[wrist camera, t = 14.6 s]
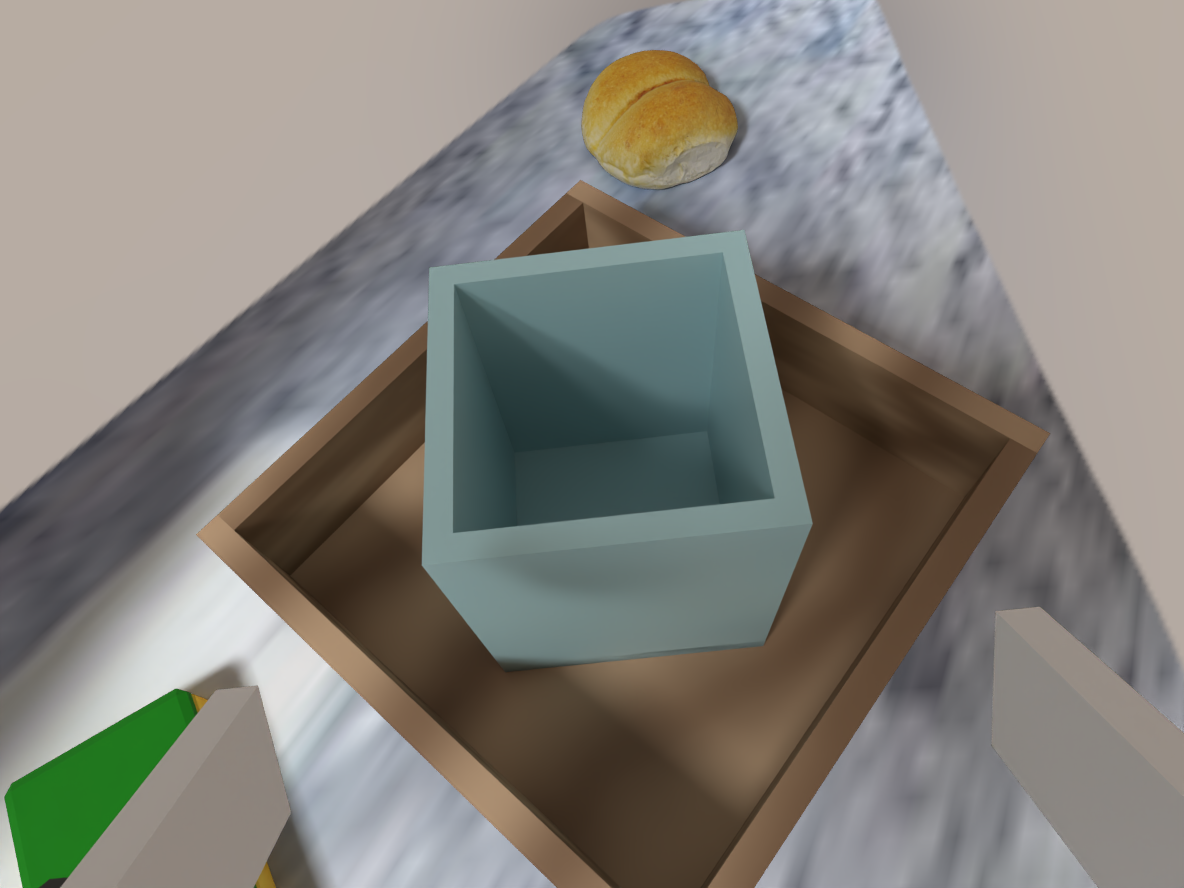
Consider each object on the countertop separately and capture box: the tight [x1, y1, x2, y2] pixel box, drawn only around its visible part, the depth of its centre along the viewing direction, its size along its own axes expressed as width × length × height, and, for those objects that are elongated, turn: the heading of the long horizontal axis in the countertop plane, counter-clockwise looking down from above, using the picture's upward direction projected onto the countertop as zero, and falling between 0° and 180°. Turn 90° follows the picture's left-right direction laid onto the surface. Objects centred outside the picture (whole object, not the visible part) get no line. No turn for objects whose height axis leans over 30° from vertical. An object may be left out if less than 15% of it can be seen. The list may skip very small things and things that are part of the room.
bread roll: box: [581, 50, 738, 189], centre depth 45 cm, size 8×9×4 cm
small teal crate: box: [422, 230, 813, 672], centre depth 28 cm, size 10×10×12 cm
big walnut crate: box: [196, 180, 1050, 888], centre depth 31 cm, size 22×22×6 cm
